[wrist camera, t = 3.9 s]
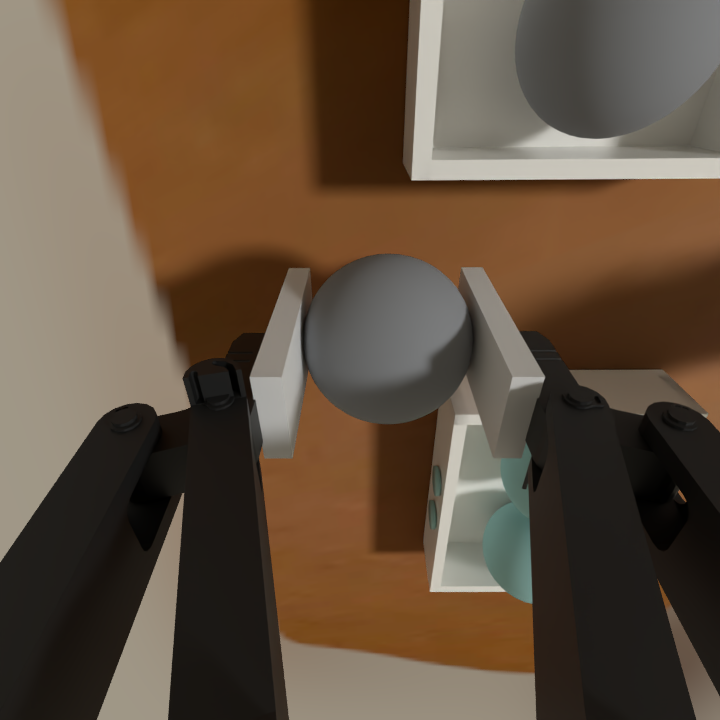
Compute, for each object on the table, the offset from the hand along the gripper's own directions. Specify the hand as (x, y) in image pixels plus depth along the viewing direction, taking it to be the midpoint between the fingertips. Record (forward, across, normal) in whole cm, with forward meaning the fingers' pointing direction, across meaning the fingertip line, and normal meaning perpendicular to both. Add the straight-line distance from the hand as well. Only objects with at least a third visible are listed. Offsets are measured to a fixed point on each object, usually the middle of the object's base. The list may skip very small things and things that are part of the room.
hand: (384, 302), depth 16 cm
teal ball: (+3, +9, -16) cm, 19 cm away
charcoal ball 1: (0, 0, 0) cm, 0 cm away
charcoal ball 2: (+4, +6, +8) cm, 11 cm away
